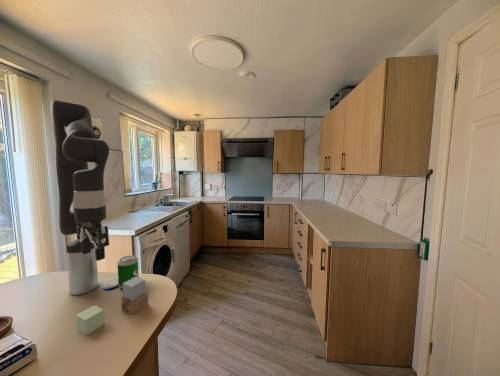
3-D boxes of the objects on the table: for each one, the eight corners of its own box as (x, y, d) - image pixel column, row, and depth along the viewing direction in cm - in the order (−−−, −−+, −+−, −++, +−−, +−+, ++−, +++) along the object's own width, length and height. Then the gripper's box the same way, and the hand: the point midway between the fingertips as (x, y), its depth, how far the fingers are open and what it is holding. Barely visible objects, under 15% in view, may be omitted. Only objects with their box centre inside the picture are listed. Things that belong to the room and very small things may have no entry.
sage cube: (77, 329, 61) (76, 314, 61) (95, 319, 66) (94, 305, 65) (85, 335, 59) (84, 320, 59) (104, 324, 64) (103, 309, 63)
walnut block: (121, 310, 70) (121, 297, 70) (137, 300, 75) (137, 288, 75) (132, 315, 68) (131, 302, 67) (148, 305, 73) (147, 292, 72)
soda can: (129, 291, 81) (128, 263, 80) (114, 288, 83) (112, 261, 82) (142, 281, 88) (141, 255, 87) (128, 279, 90) (127, 253, 89)
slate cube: (123, 296, 70) (122, 283, 69) (136, 289, 74) (136, 276, 74) (132, 300, 68) (131, 286, 67) (145, 292, 72) (144, 279, 72)
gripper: (64, 204, 60) (67, 255, 61) (86, 209, 53) (90, 267, 54) (93, 201, 66) (95, 247, 68) (116, 205, 59) (118, 256, 61)
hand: (93, 256), depth 61 cm, fingers open, 8 cm apart
